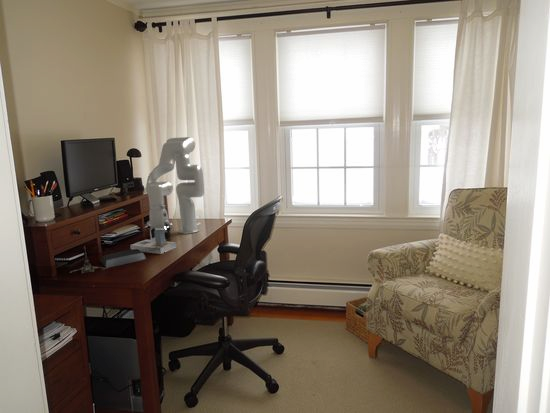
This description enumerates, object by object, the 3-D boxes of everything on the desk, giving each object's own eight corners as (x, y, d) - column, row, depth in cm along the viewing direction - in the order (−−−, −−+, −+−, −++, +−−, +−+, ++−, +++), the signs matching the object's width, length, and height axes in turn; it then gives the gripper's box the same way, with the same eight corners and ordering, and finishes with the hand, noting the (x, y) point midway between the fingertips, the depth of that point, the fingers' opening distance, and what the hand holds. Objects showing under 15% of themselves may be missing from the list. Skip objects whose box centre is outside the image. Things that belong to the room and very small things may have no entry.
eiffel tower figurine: (109, 269, 193) (105, 242, 190) (92, 276, 184) (88, 248, 181) (85, 266, 198) (81, 240, 196) (68, 273, 189) (64, 246, 187)
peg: (161, 248, 221) (159, 229, 219) (167, 249, 219) (165, 229, 217) (156, 250, 218) (154, 231, 216) (161, 251, 216) (159, 231, 214)
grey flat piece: (147, 244, 232) (146, 239, 231) (176, 247, 221) (175, 242, 221) (131, 250, 221) (130, 244, 221) (161, 253, 211) (160, 248, 210)
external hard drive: (146, 260, 203) (145, 252, 202) (106, 269, 193) (105, 261, 192) (139, 254, 214) (138, 247, 213) (100, 262, 203) (99, 255, 203)
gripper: (174, 206, 213) (177, 237, 217) (150, 205, 221) (153, 235, 225) (164, 209, 207) (168, 241, 210) (140, 207, 215) (144, 238, 218)
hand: (160, 238), depth 218 cm, fingers open, 9 cm apart
